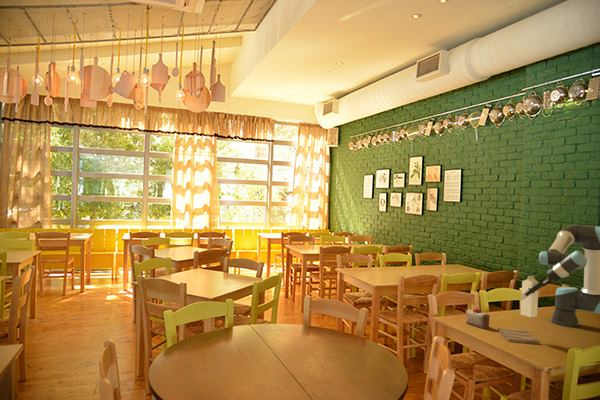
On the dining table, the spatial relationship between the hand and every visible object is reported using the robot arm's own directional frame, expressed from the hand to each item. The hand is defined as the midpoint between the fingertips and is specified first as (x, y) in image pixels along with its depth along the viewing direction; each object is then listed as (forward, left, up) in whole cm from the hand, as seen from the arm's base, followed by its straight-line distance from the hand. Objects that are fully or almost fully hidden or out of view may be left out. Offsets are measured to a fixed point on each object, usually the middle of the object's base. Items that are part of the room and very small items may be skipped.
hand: (522, 297), depth 243 cm
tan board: (0, -1, -23) cm, 23 cm away
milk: (+2, +3, -10) cm, 10 cm away
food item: (-17, -20, -23) cm, 34 cm away
